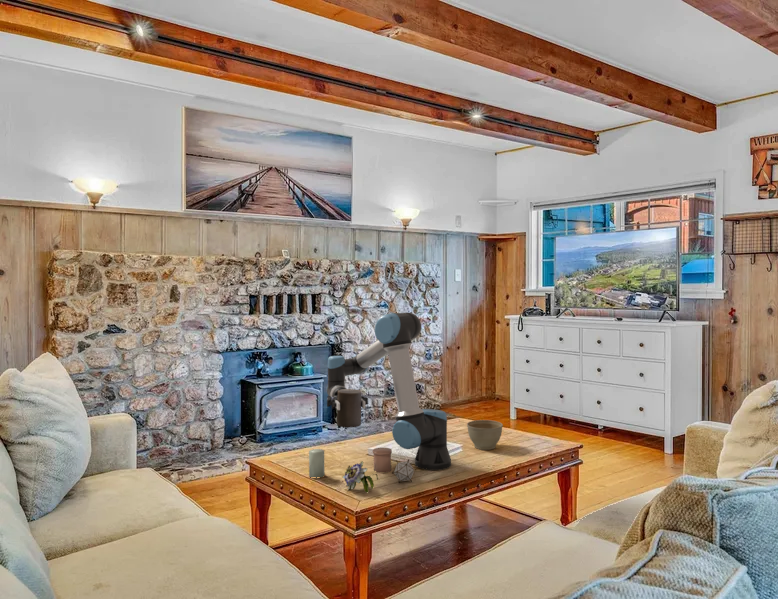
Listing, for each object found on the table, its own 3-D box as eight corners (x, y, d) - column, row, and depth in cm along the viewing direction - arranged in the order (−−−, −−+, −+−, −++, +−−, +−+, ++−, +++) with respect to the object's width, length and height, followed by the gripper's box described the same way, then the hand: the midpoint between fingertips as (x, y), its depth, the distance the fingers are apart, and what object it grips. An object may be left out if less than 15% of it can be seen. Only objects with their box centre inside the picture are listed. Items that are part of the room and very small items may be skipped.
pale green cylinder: (327, 475, 239) (327, 450, 239) (318, 479, 234) (318, 454, 234) (315, 472, 242) (314, 448, 242) (306, 477, 237) (305, 452, 237)
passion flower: (350, 504, 222) (334, 475, 226) (372, 492, 229) (357, 464, 233) (362, 495, 214) (346, 464, 218) (385, 482, 221) (369, 453, 225)
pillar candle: (338, 428, 235) (339, 390, 235) (335, 422, 245) (336, 385, 244) (363, 427, 238) (363, 389, 237) (359, 421, 247) (359, 385, 247)
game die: (407, 492, 230) (413, 476, 224) (387, 483, 231) (392, 467, 225) (415, 474, 237) (420, 459, 231) (395, 466, 238) (400, 450, 232)
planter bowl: (464, 443, 285) (464, 420, 284) (498, 442, 285) (498, 419, 285) (470, 452, 269) (470, 428, 268) (506, 452, 269) (506, 427, 269)
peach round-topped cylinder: (395, 468, 247) (395, 449, 247) (386, 474, 240) (385, 453, 240) (378, 465, 251) (378, 446, 250) (369, 471, 244) (369, 451, 244)
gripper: (365, 402, 261) (379, 413, 240) (315, 405, 255) (323, 417, 234) (365, 385, 261) (379, 394, 240) (314, 388, 255) (323, 398, 233)
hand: (351, 405), depth 237 cm, fingers closed on pillar candle, 9 cm apart
